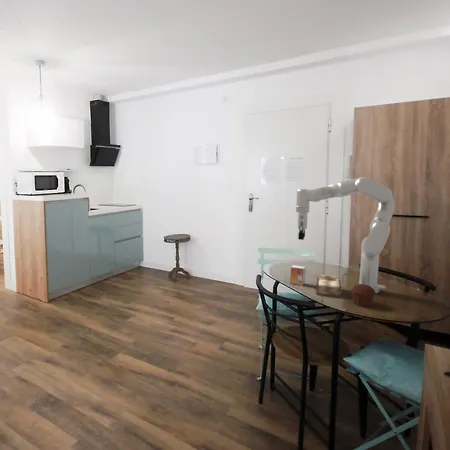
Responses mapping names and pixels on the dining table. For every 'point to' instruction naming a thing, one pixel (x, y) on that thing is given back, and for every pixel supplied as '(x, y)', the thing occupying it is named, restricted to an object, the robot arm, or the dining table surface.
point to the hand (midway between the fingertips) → (301, 238)
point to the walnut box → (328, 290)
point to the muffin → (363, 295)
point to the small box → (297, 275)
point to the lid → (328, 281)
